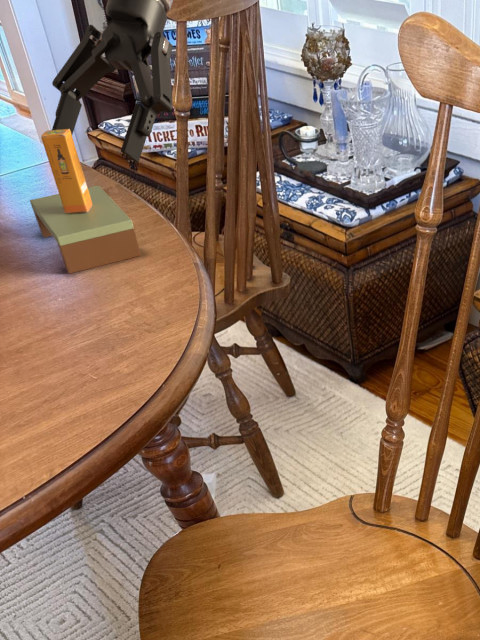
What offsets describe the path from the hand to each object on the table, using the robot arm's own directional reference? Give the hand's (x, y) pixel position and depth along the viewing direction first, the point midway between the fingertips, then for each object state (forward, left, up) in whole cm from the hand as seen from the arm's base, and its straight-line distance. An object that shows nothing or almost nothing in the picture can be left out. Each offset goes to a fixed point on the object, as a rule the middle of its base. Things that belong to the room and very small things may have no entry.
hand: (93, 150), depth 108 cm
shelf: (0, -5, -11) cm, 12 cm away
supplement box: (0, -5, -6) cm, 8 cm away
